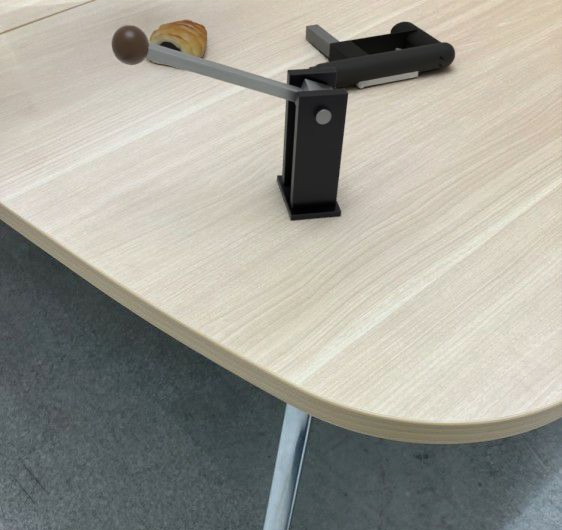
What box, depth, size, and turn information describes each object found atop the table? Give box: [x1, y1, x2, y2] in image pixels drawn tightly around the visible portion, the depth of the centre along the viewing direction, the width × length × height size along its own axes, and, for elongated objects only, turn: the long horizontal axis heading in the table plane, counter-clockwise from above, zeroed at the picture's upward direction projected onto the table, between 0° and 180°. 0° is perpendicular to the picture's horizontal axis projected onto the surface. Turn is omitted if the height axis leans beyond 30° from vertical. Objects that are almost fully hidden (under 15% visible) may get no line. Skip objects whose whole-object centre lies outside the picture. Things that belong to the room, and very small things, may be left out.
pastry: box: [149, 19, 208, 66], centre depth 99 cm, size 9×7×4 cm
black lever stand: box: [276, 67, 349, 221], centre depth 74 cm, size 5×7×13 cm
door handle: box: [305, 21, 456, 90], centre depth 100 cm, size 3×20×16 cm
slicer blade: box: [111, 24, 333, 104], centre depth 67 cm, size 20×3×3 cm, turn 102°
